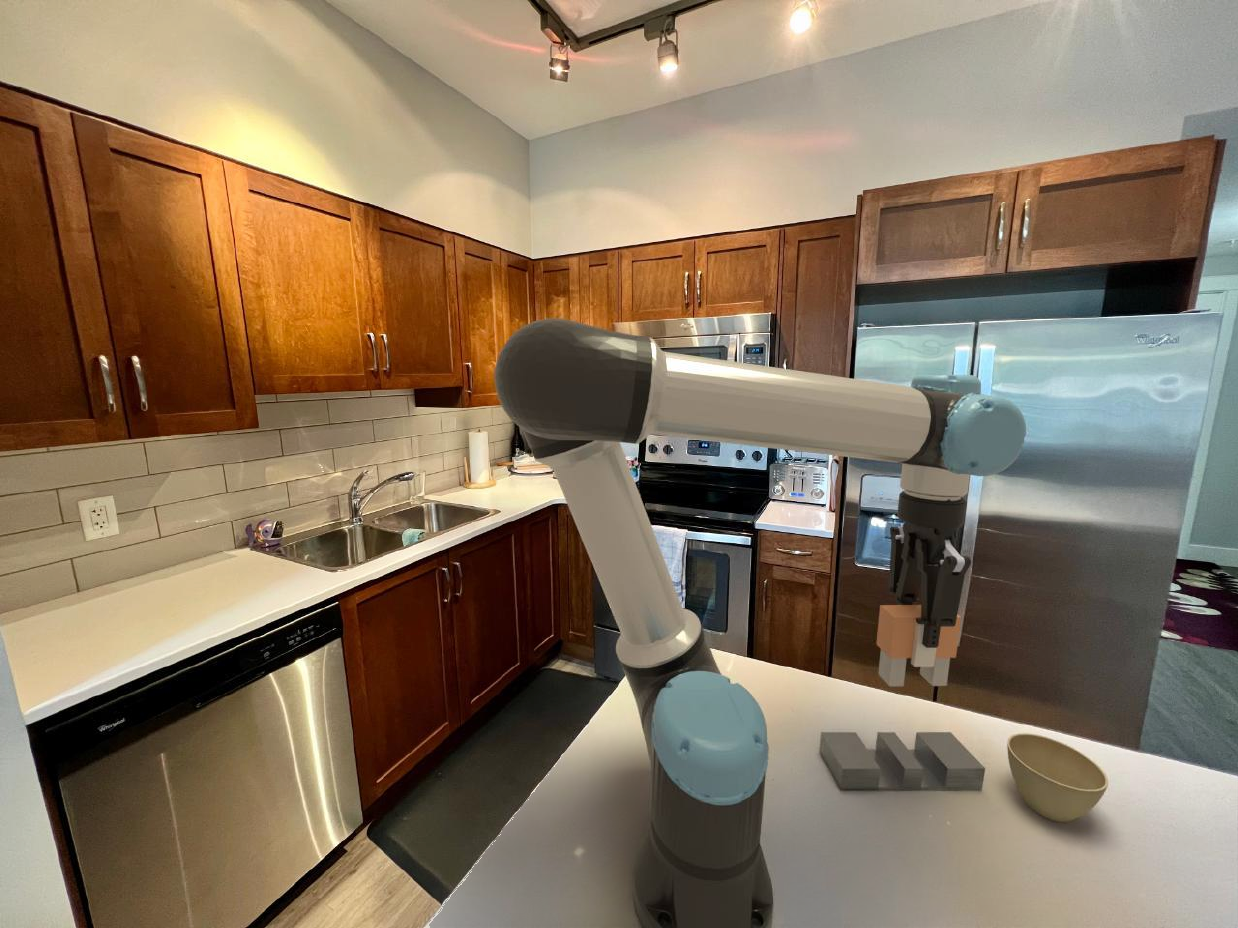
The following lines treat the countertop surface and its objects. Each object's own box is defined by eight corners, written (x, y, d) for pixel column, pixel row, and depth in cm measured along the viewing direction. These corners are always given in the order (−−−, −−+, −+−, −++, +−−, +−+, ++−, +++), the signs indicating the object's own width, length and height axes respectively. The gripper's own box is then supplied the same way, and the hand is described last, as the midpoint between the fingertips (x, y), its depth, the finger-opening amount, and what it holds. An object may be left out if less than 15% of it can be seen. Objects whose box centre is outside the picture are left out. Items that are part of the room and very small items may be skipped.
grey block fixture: (840, 790, 68) (842, 768, 67) (819, 752, 74) (821, 732, 74) (981, 790, 68) (985, 768, 67) (947, 752, 75) (950, 732, 74)
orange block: (887, 687, 67) (894, 617, 65) (873, 672, 70) (880, 605, 68) (951, 687, 67) (961, 616, 65) (935, 672, 70) (943, 604, 68)
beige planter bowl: (1119, 847, 60) (1130, 797, 58) (1027, 831, 62) (1036, 782, 60) (1064, 782, 69) (1072, 738, 68) (985, 770, 71) (992, 727, 70)
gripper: (1011, 510, 56) (984, 694, 60) (921, 480, 72) (904, 626, 76) (947, 510, 55) (923, 694, 60) (871, 480, 72) (857, 626, 76)
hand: (913, 655), depth 68 cm, fingers closed on orange block, 3 cm apart
